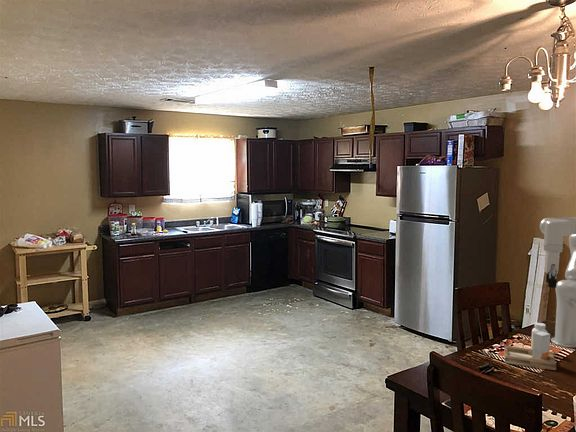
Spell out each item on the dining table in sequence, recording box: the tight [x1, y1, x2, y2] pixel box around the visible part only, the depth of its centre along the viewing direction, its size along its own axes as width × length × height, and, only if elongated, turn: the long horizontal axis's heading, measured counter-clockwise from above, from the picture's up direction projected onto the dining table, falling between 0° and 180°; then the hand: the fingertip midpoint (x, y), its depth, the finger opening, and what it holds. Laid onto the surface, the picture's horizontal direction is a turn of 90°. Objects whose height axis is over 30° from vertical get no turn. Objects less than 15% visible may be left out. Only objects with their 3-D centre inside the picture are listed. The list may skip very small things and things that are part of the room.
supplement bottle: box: [530, 322, 548, 349], centre depth 231 cm, size 7×7×13 cm
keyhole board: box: [503, 345, 557, 371], centre depth 219 cm, size 16×20×2 cm
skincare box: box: [532, 331, 551, 360], centre depth 217 cm, size 6×4×12 cm
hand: (551, 285), depth 221 cm, fingers open, 9 cm apart
